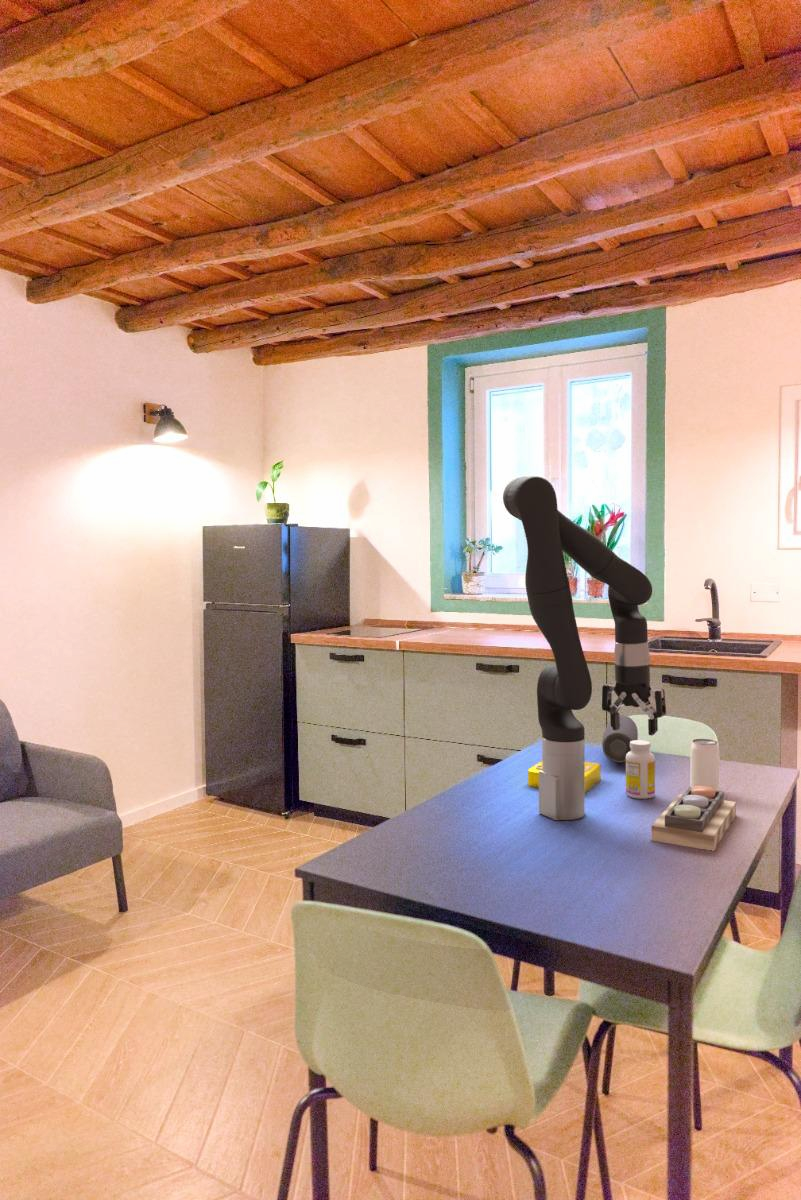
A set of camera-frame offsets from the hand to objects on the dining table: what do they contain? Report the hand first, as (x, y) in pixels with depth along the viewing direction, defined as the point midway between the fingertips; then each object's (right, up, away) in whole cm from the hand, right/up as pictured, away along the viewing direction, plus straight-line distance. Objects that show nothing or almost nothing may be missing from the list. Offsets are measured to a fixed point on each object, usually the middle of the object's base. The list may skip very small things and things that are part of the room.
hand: (634, 732), depth 186 cm
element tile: (-11, -17, +22) cm, 30 cm away
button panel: (+9, -18, -13) cm, 24 cm away
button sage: (+5, -14, -19) cm, 24 cm away
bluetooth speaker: (+9, -14, +45) cm, 48 cm away
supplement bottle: (+4, -17, +10) cm, 20 cm away
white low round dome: (+9, -14, -13) cm, 21 cm away
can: (+21, -16, +13) cm, 29 cm away
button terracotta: (+13, -13, -6) cm, 20 cm away
